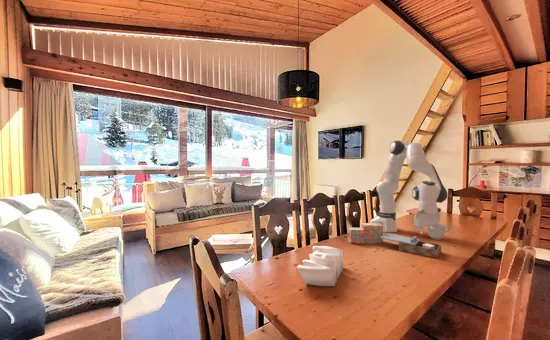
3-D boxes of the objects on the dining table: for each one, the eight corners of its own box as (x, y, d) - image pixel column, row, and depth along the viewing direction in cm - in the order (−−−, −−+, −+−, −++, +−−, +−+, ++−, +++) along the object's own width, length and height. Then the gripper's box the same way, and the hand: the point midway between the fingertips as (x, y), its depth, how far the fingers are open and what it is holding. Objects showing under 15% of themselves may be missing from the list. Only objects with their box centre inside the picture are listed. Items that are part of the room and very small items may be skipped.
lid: (419, 240, 154) (419, 236, 154) (415, 245, 146) (415, 240, 146) (385, 234, 168) (385, 230, 168) (380, 238, 160) (380, 234, 159)
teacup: (455, 242, 167) (455, 227, 166) (432, 242, 167) (432, 227, 167) (443, 236, 179) (443, 223, 178) (422, 237, 179) (422, 223, 179)
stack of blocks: (350, 243, 166) (350, 225, 166) (347, 240, 173) (347, 223, 172) (382, 243, 166) (382, 225, 166) (378, 240, 172) (379, 222, 172)
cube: (422, 252, 148) (422, 244, 147) (426, 250, 150) (427, 243, 149) (429, 254, 144) (429, 246, 143) (434, 253, 146) (434, 245, 145)
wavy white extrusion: (329, 294, 103) (329, 269, 103) (292, 285, 111) (292, 262, 111) (348, 264, 134) (348, 244, 133) (319, 258, 142) (319, 240, 141)
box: (441, 253, 147) (441, 245, 147) (437, 259, 138) (437, 250, 138) (404, 245, 161) (404, 238, 161) (398, 251, 152) (398, 242, 152)
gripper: (422, 212, 138) (421, 236, 139) (443, 208, 148) (442, 231, 148) (411, 209, 144) (410, 233, 144) (432, 206, 153) (431, 229, 154)
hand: (426, 232), depth 147 cm, fingers open, 8 cm apart
